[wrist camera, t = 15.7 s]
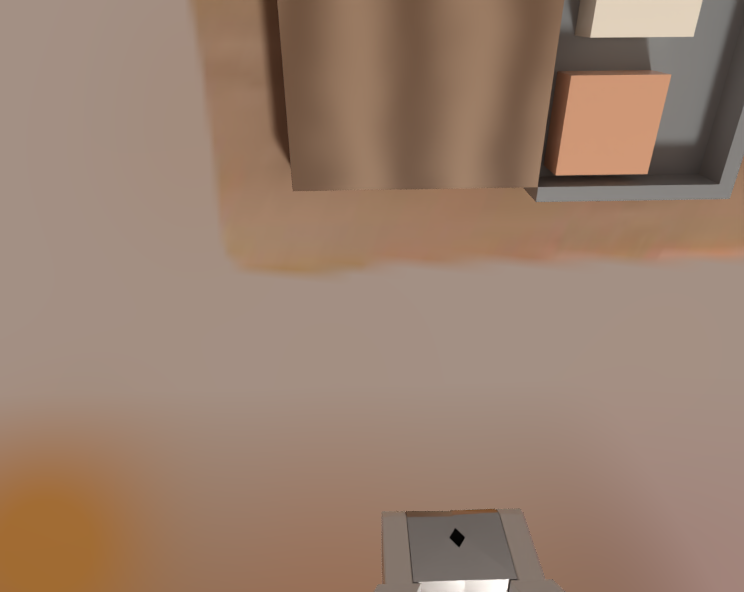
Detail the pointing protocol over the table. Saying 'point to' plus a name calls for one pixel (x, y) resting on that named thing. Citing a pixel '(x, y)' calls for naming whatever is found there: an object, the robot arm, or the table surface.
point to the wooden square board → (417, 92)
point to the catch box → (666, 108)
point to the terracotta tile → (605, 121)
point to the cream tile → (637, 18)
